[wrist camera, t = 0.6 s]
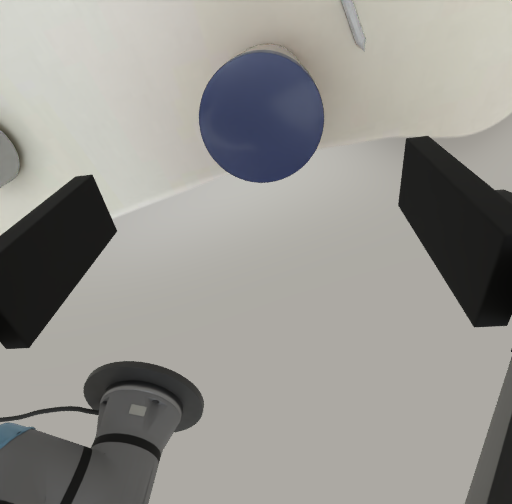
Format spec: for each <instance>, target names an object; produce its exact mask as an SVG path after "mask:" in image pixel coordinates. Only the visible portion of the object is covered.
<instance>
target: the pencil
mask: <svg viewBox="0 0 512 504" xmlns="http://www.w3.org/2000/svg"><path fill="white" fill-rule="evenodd" d="M341 2H342V4H343V7H344V10H345V13H346V16H347V19H348V21H349V24H350V27H351V30H352V33H353V36H354V39H355V41H356V44H357V45H358V46H359V47H360V48H362V49H363V50H364V48H365V41H366V38H365V36H364V33H363V30H362V27H361V24H360V21H359V18H358V15H357V12H356V9H355V6H354V3H353V0H341ZM364 52H365V50H364Z"/></svg>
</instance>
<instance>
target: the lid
mask: <svg viewBox="0 0 512 504" xmlns="http://www.w3.org/2000/svg"><path fill="white" fill-rule="evenodd" d="M199 125H200V131H201V135H202V139H203V141H204V144H205V146H206V148H207V150H208V152H209V153H210V155H211V156H212V158H213V159H214V160H215V161H216V162H217V163H218V164H219V165H220V166H221V167H222V168H223V169H224V170H225V171H227V172H228V173H230V174H232V175H233V176H235V177H238V178H240V179H243V180H246V181H250V182H258V183H263V182H264V183H265V182H273V181H277V180H281V179H284V178H286V177H288V176H290V175H292V174H293V173H295V172H296V171H298V170H299V169H301V168H302V167H303V166H304V165H305V164H306V163H307V162H308V161H309V159H310V158H311V157H312V155H313V154H314V152H315V150H316V149H317V146H318V144H319V142H320V139H321V136H322V132H323V126H324V111H323V104H322V100H321V97H320V94H319V91H318V89H317V87H316V85H315V83H314V81H313V79H312V78H311V76H310V75H309V73H308V72H307V71H306V70H305V68H304V67H303V66H302V65H301V64H299V63H298V62H297V61H296V60H294V59H293V58H291V57H289V56H287V55H285V54H283V53H280V52H276V51H272V50H253V51H249V52H245V53H242V54H240V55H238V56H236V57H234V58H232V59H231V60H229V61H228V62H227V63H226V64H224V65H223V66H222V67H221V68H220V69H219V70H218V71H217V72H216V73H215V74H214V75H213V77H212V78H211V80H210V81H209V82H208V84H207V86H206V88H205V90H204V93H203V96H202V99H201V103H200V109H199Z"/></svg>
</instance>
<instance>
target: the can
mask: <svg viewBox="0 0 512 504" xmlns="http://www.w3.org/2000/svg"><path fill="white" fill-rule="evenodd" d="M19 167H20V163H19V157H18V154H17V152H16V150H15V147H14V145H13V144H12V142H11V141H10V140H9V139H8V137H7V136H6V135H5V134H4V133H3V132H2V131H1V130H0V188H1V187H2V186H4V185H5V184H7V183H9V182H10V181H12V180H13V179H14V178H15V177H16V176H17V174H18V171H19Z"/></svg>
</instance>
